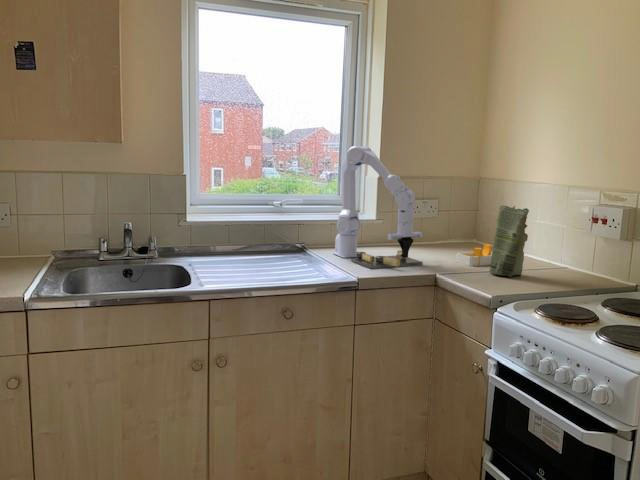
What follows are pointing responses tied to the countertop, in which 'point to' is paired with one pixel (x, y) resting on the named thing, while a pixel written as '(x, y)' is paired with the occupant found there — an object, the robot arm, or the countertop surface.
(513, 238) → the pouch
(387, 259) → the near knob
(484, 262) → the parts bin frame
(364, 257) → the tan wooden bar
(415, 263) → the levelling plate
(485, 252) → the pipe clamp
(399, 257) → the far knob
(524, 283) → the countertop surface
